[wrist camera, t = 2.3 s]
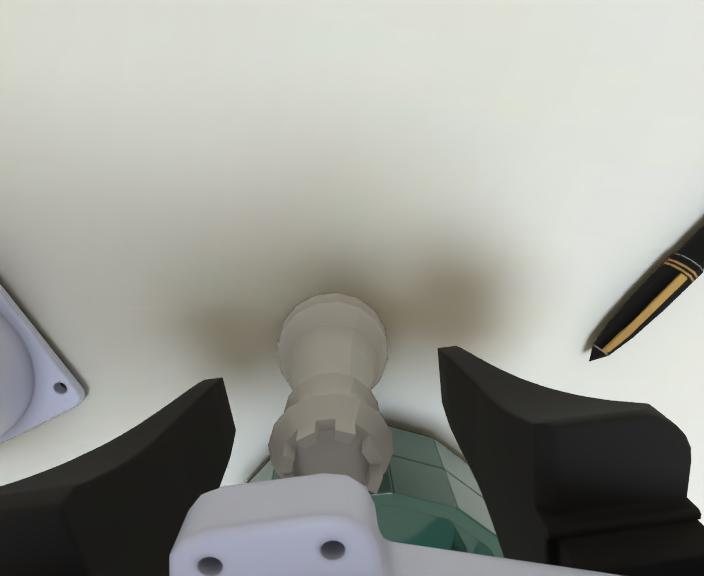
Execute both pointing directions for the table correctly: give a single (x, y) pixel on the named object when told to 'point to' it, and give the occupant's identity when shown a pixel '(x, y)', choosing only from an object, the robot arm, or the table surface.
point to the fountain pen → (653, 296)
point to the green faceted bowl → (427, 498)
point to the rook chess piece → (332, 392)
